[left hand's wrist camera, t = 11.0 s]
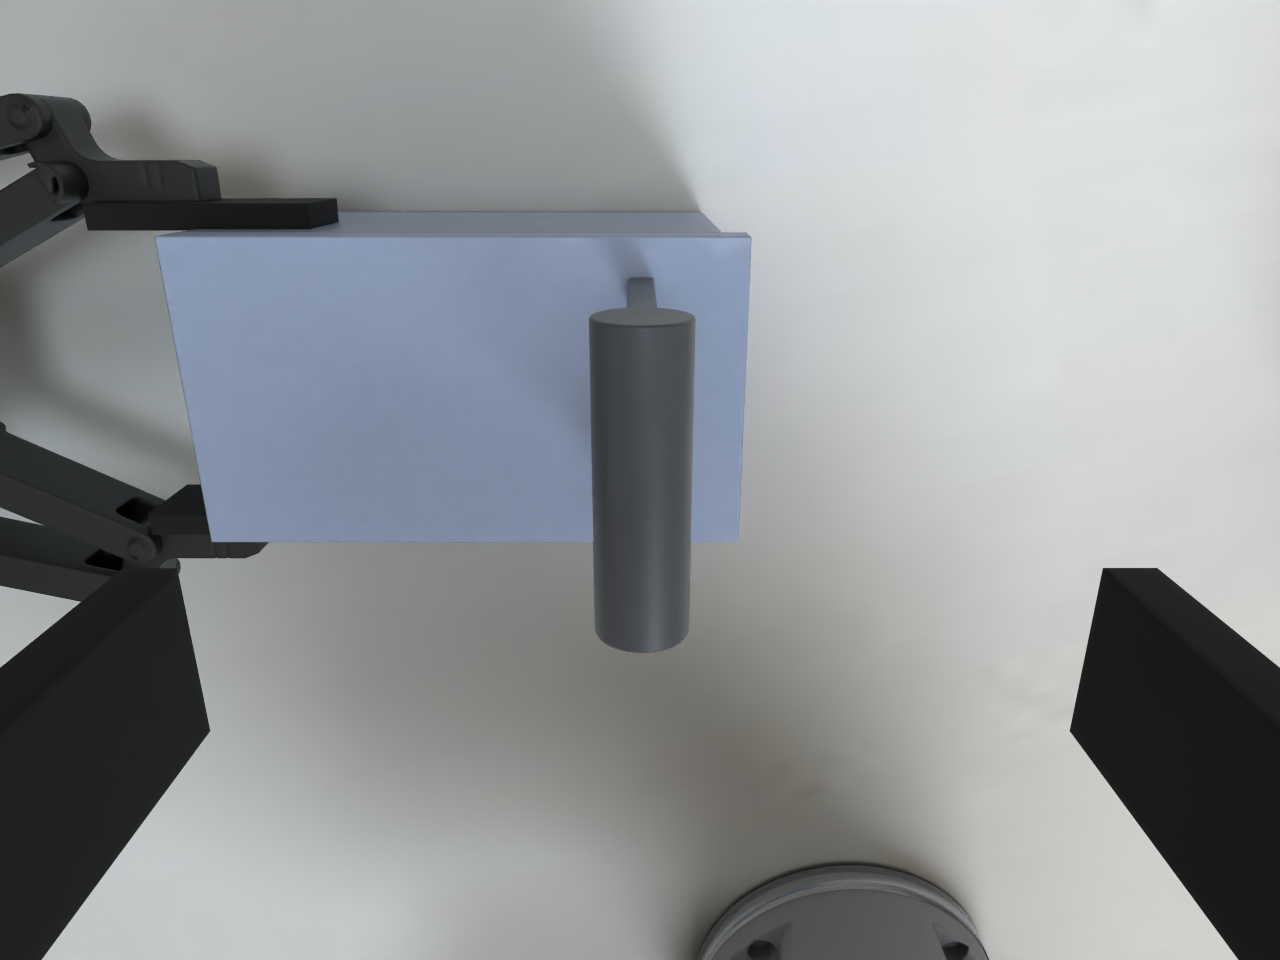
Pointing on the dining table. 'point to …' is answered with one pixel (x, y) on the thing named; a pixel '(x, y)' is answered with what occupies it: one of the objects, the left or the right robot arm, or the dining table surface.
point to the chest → (505, 222)
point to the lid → (473, 395)
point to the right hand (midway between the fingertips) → (342, 369)
